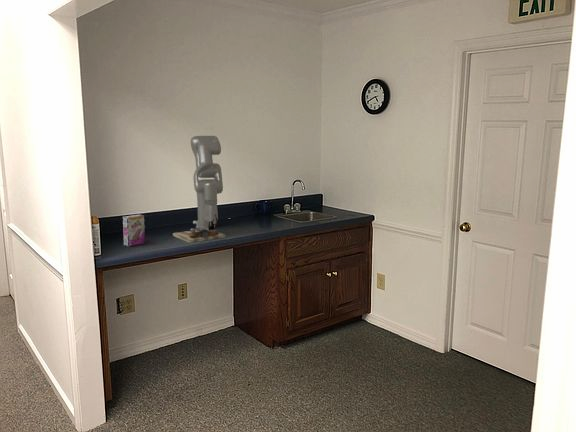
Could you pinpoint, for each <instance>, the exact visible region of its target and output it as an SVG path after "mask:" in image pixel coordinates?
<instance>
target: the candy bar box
mask: <svg viewBox="0 0 576 432" xmlns="http://www.w3.org/2000/svg"><path fill="white" fill-rule="evenodd" d="M145 223H146V222H145V215H144V214H133V215H128V216H122V227H123V229H122V232H123V233H122V235H123V246H125V247H132V246H133V247H134V246H138V245H142V244H146V231H145V229H146V228H145V227H146V226H145V225H146V224H145Z"/></svg>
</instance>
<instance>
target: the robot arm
mask: <svg viewBox="0 0 576 432" xmlns="http://www.w3.org/2000/svg"><path fill="white" fill-rule="evenodd" d="M220 142H221V141H220V139H219V138H218V137H217V136H216V135H194V136H192V137H191V139H190V147H191V150H192V153H193V155H194V158H195V168H196V169H195V171H194V173H193V186H194V190H195V192H196V198H197V199H196V202H197V203H196V204H197V220H193V221H192V224H193V225H195V229H196V228H199V227H201V228H204V229H209V230H215V228H216V225H217V222H218V220H219V213H218V211H219V210H218V195H219V194H221V193H223V188H224V185H223V184H224V183H223V174H222V168H221V165H220V164H219V163H215V162H214V161H213V160H214V159H213V156H218V155H221V152H222V145H221V143H220ZM199 178H200V179H199Z"/></svg>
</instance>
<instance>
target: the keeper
mask: <svg viewBox="0 0 576 432" xmlns="http://www.w3.org/2000/svg"><path fill="white" fill-rule="evenodd" d="M195 229H196V231H199V232H201V238H206V237H208V230H207V229H204V228H201V227H199V228H196V227H195Z"/></svg>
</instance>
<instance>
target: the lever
mask: <svg viewBox="0 0 576 432" xmlns="http://www.w3.org/2000/svg"><path fill="white" fill-rule="evenodd" d="M195 230H196V227H195V228H190V230H189V231H192V233H189V234H190V238H195V237H201V232H195ZM218 232H219V230H218V229H214V230H208V236H209V235H216V234H218Z"/></svg>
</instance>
